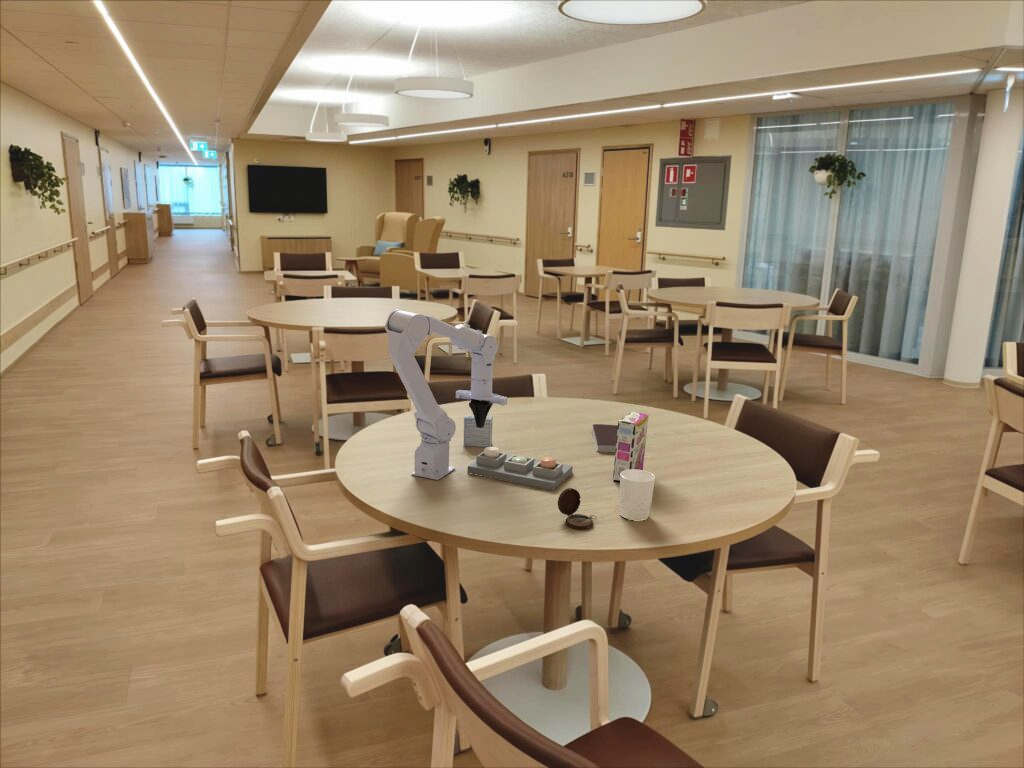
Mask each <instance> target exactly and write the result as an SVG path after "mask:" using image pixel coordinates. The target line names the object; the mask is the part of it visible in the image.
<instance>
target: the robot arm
mask: <svg viewBox="0 0 1024 768" xmlns="http://www.w3.org/2000/svg"><path fill="white" fill-rule="evenodd" d="M384 329H385V331H386V333H387V343H388V356H389V358H390V360H391V362H392V364H393V366H394V368H395V370H396V372H397V374H398V376H399V378H400V380H401V382H402V385H404V388H405V390H406V392H407V394H408V396H409V398H410V400H411V401H412V403H413V406H414V408H415V409H416V410H415V411H414V412H413V417H414V419H415V427H416V430H417V431H418V432H419V433H420V438H421V440H420V444H419V445H418V446H417V447H416V449H415V451H414V471H412V472H411V475H412V476H416V477H420V478H426V479H431V480H436V481H438V480H440V479H443V478H444V477H445V476H446V475H448V474H450V473H451V472H453V471H454V470H455V469H456V467H455V466H452V465H451V466H450V442H451V441H452V438H453V437H454V435H455V433H456V430H457V429H456V428H457V427H456V422H455V420H453V418H451V417H449V415H448V413H447V411H445V409H443V407H441V406H440V405H439V404H438V402H437V400H436V399H435V397H434V394H433V392H432V390H431V387H430V385H429V384H428V381H427V379H426V378H425V375H424V373H423V371H422V369H421V368H420V365H419V363H418V361H417V359H416V357H415V352H417V350H418V349H419V347H420V346H421V345H422V343H423V341H424V340H425V338H426V337H427V335H428V336H430V335H432V333H434V334H437V335H439V336H443V337H445V338H448V339H449V341H450V343H451V344H452V345H453V346H455V347H457V348H460V349H462V350H465V351H468V352H469V353H470V354H471V371H470V372H471V373H470V375H471V376H470V377H471V378H470V390H463V389H458V390H456V391H455V399H465V400H470V402H469V403H468V406H469V408H470V410H471V412H472V414H473V415H474V418H475V422H476V427H477V428H482V427H484V424H485V420H486V417H487V415H488V414H489V411H490V410H491V408H492V406H493V404H495V405H496V404H497V405H501V406H502V407H504V406H506V405H507V404H508V397H507V396H503V395H499V394H497V393H496V394H495V393H493V372H494V371H493V369H494V362H495V358H496V355H497V352H498V350H499V347H500V346H499V344H498V342H497V340H496V338H495V337H494V336H492V335H489V334H485V333H483V330H480V329H473V328H471V325H470V324H467V323H462V324H456V325H455V326H454V325H452V324H450V323H447V322H444V321H443V320H441V319H439V318H436V317H434V316H431V315H428V314H427V315H426V314H422V313H417V312H413V311H407V310H403V309H401V308H398V309H394V310H392V311H391V312H390V313H389V315H388V316H387V320H386V322H385V324H384Z"/></svg>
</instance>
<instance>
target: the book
mask: <svg viewBox="0 0 1024 768" xmlns="http://www.w3.org/2000/svg"><path fill="white" fill-rule="evenodd" d="M617 429H618V424H617V425H616V424H599V423H595V424H592V430H591V435H592V438H593V441H595V442H594V445H595V449H596V448H597V450H596V453H608V452H615V451H616V440H617Z"/></svg>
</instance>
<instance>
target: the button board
mask: <svg viewBox="0 0 1024 768" xmlns="http://www.w3.org/2000/svg"><path fill="white" fill-rule="evenodd" d="M513 457H525V458H527V463H525V464H520V463H515V462H512V458H513ZM573 467H574V466H573V465H570V464H563V463H561V462H556V468H555V469H553V470H551V469H546V468H541V467H540V459H538V458H535V457H529V456H528V457H527V456H522V455H517V454H511V453H506V452H501V451H499V457H498V458H497V459H494V458H488V457H484V451H482V452H481V453H479V454H478V455H476V459H475V460H474V461H473V462H472V463H470V464H469V465H467V474H469V473H472V474H471V475H474V474H477V475H476V476H478V475H482V476H481V477H483V476H486V477H485V478H488V477H491V478H490V479H493V478H495V480H498V479H499V481H503V480H504V482H508V481H509V482H508V483H513V482H514V484H518V483H519V484H518V485H523V486H528V485H529V487H533V486H534V488H538V487H539V488H538V489H544V490H547V491H548V490H549V491H554V490H555V489H557V488H558V487H559V486H560V485H561V484H562V483H564V481H565V480H566V479H567V478H569V476H570V474H571V473H572V474H573ZM572 474H571V475H572Z"/></svg>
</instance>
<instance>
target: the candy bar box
mask: <svg viewBox="0 0 1024 768" xmlns="http://www.w3.org/2000/svg"><path fill="white" fill-rule="evenodd" d="M648 422H649V414H646V413H643V412H642V413H641V412H635V411H631V412H630V413H628V414H627V415H625V416H623V417H622V418H621V419H619V420H618V421H617V425H618V429H617V440H616V451H615V453H614V454H615V455H614V463H613V473H612V481H613V480H617V481H620V473H621V472H622V471H624V470H629V469H638V470H644V463H645V462H644V461H645V450H646V442H647V441H646V440H647V433H648V432H647V431H648Z"/></svg>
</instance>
